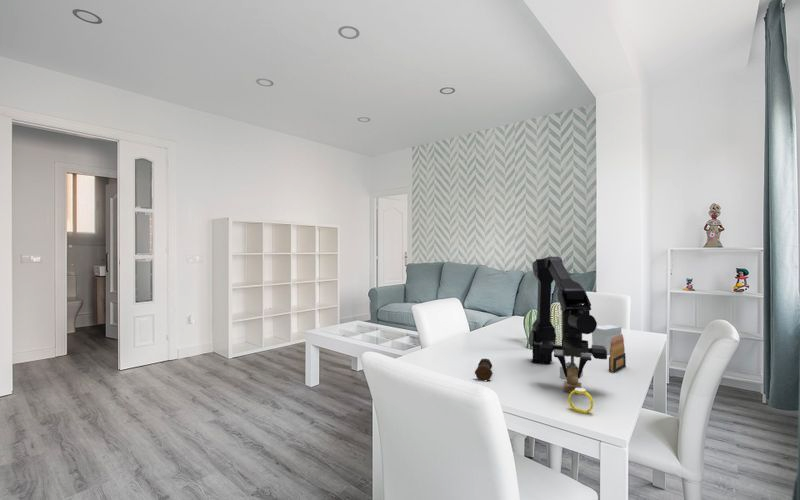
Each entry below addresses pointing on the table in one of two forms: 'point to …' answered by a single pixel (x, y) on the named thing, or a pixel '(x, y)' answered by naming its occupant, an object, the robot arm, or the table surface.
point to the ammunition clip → (617, 354)
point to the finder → (566, 367)
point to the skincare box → (605, 335)
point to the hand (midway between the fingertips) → (572, 377)
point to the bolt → (484, 370)
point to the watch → (580, 391)
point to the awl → (572, 373)
